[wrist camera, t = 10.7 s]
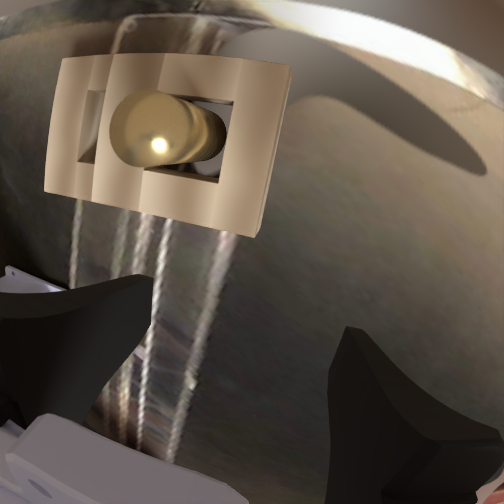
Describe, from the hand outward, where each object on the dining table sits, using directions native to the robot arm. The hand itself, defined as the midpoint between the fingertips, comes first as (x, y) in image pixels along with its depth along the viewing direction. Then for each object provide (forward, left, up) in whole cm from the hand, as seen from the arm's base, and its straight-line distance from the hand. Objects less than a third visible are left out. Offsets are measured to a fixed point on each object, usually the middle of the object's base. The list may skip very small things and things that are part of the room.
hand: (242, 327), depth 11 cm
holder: (-9, +6, -10) cm, 15 cm away
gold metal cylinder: (-6, +6, -10) cm, 13 cm away
